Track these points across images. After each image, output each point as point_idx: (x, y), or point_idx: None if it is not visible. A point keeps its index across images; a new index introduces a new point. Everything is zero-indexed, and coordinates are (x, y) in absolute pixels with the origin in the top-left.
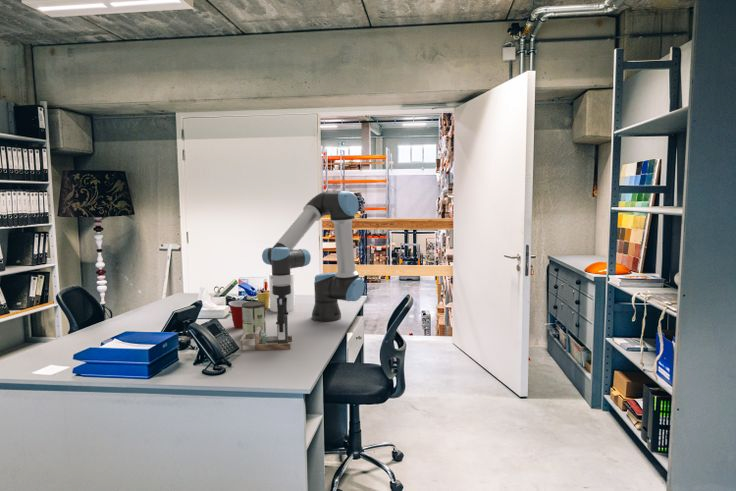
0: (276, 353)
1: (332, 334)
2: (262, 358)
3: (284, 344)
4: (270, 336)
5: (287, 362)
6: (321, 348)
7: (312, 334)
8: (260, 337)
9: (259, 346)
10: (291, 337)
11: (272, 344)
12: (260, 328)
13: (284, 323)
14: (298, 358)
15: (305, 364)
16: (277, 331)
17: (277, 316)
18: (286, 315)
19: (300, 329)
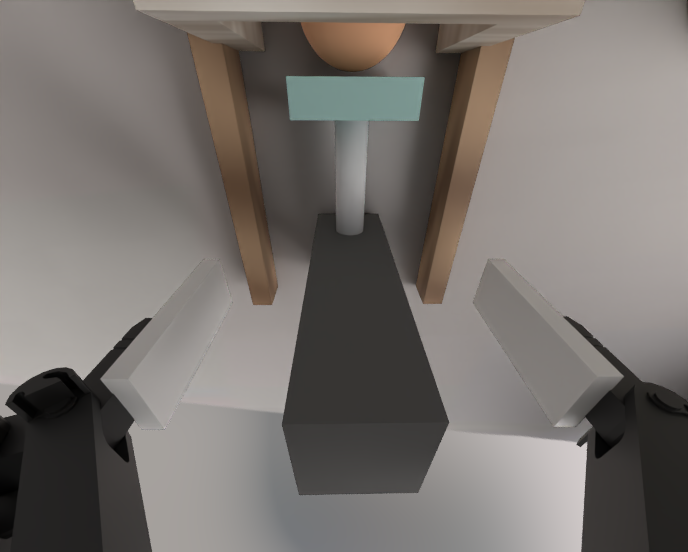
0: (158, 217)
1: (463, 415)
2: (8, 123)
3: (247, 273)
4: (480, 150)
5: (23, 285)
6: (273, 390)
7: (501, 362)
8: (351, 44)
9: (200, 60)
10: (421, 297)
11: (231, 193)
12: (476, 10)
13: (158, 428)
14: (110, 325)
15: (41, 351)
16: (310, 268)
17: (321, 427)
18: (373, 489)
19: (640, 314)
